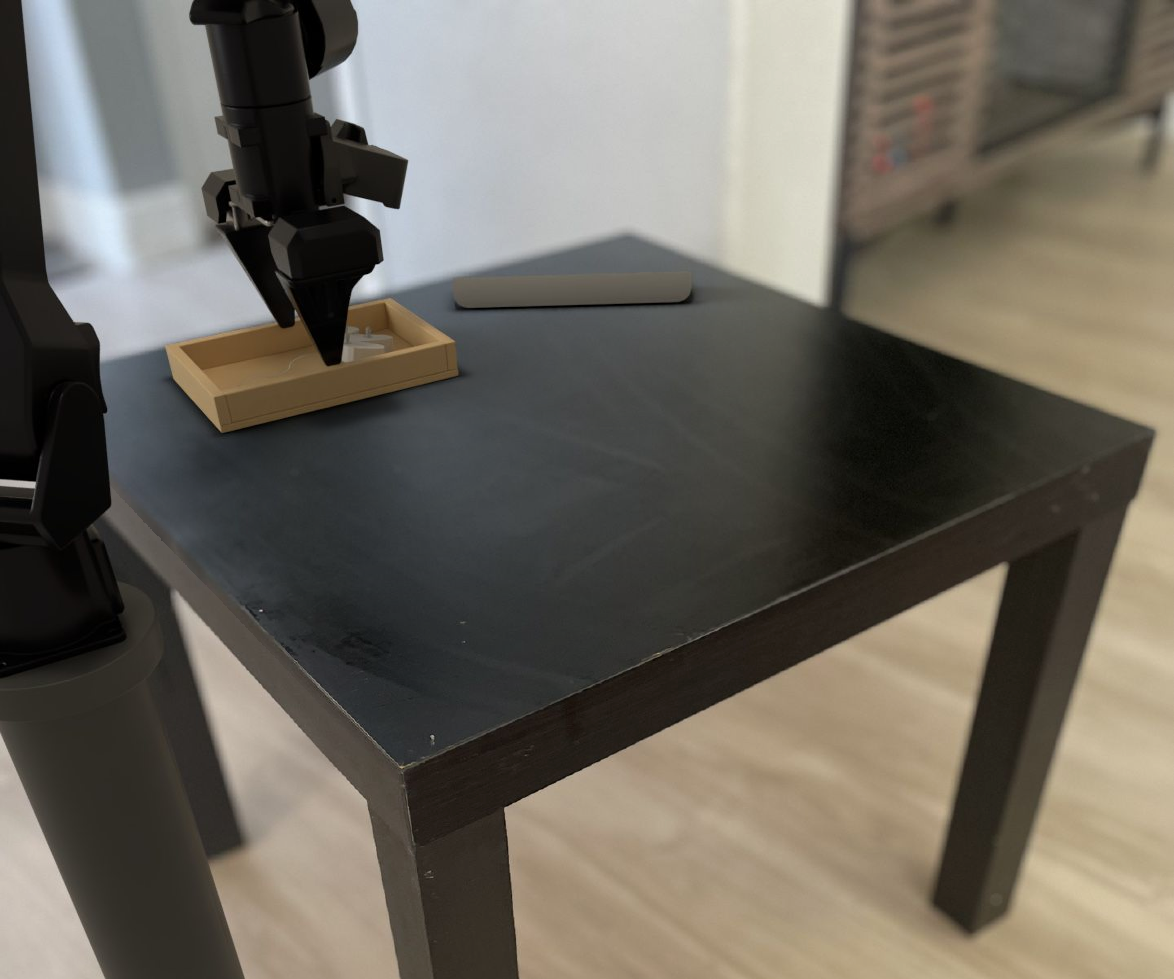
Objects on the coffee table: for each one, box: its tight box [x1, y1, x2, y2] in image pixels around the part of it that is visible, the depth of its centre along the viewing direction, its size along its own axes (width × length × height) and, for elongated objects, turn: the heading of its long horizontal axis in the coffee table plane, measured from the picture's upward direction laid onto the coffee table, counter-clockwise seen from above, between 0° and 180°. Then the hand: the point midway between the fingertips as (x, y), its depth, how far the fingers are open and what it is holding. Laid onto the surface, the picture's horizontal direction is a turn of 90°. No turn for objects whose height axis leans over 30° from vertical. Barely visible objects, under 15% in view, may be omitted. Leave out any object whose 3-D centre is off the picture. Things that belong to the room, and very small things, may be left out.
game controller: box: [238, 325, 393, 386], centre depth 87 cm, size 6×12×3 cm, turn 140°
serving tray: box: [164, 297, 459, 434], centre depth 87 cm, size 18×12×2 cm, turn 121°
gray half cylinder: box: [452, 270, 694, 309], centre depth 99 cm, size 4×20×2 cm, turn 89°
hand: (309, 345), depth 87 cm, fingers open, 9 cm apart
